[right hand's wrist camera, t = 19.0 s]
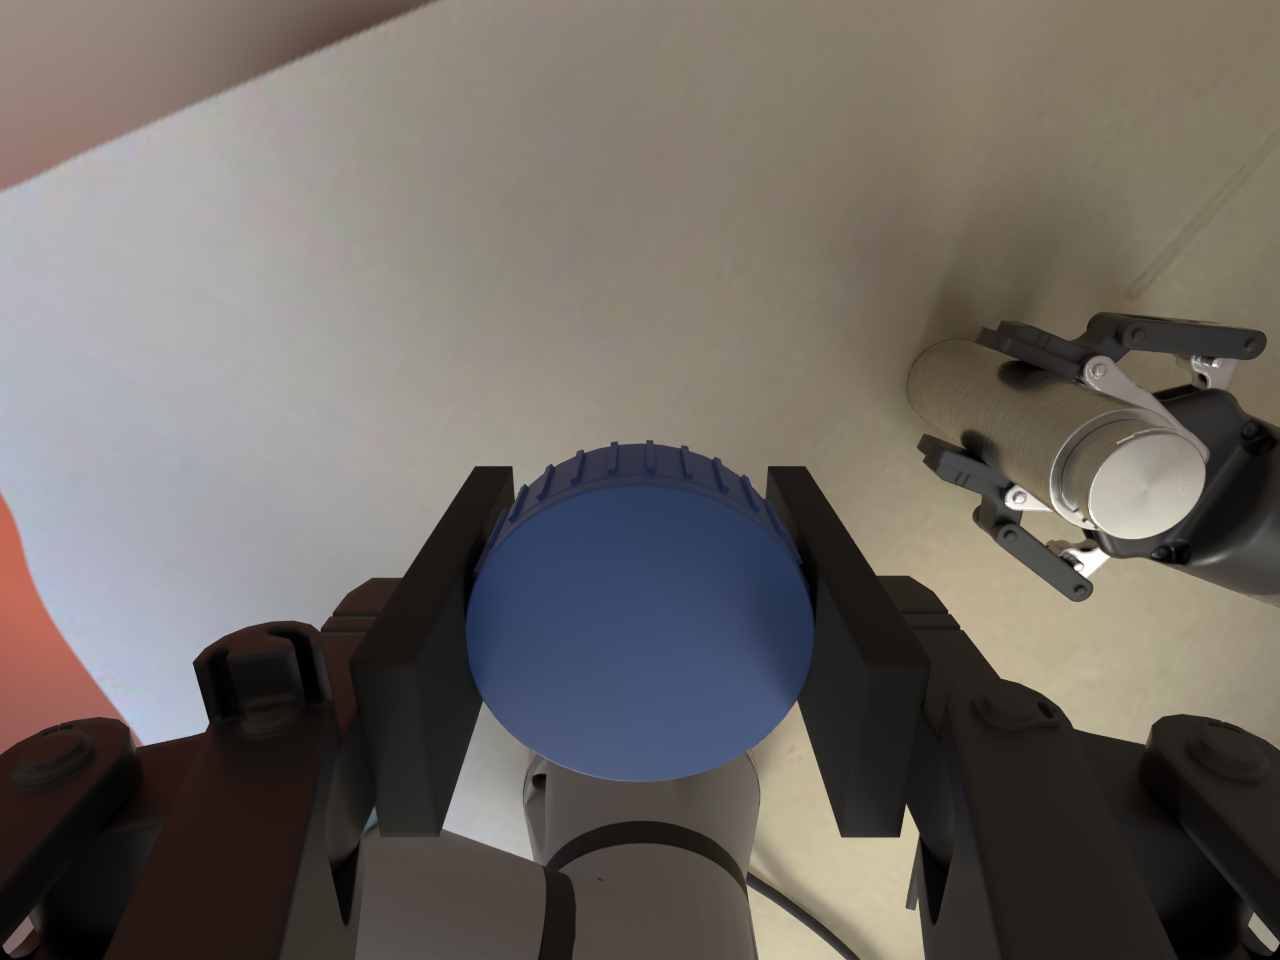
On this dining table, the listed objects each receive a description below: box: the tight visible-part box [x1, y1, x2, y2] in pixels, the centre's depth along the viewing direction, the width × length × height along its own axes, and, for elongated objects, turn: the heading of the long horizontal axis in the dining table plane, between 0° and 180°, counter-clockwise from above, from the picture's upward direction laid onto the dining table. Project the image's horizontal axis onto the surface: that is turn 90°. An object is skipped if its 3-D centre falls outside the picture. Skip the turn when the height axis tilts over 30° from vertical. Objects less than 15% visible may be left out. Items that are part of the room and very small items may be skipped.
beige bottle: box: [907, 339, 1206, 540], centre depth 29 cm, size 4×4×15 cm
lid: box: [465, 440, 815, 782], centre depth 11 cm, size 5×5×2 cm
